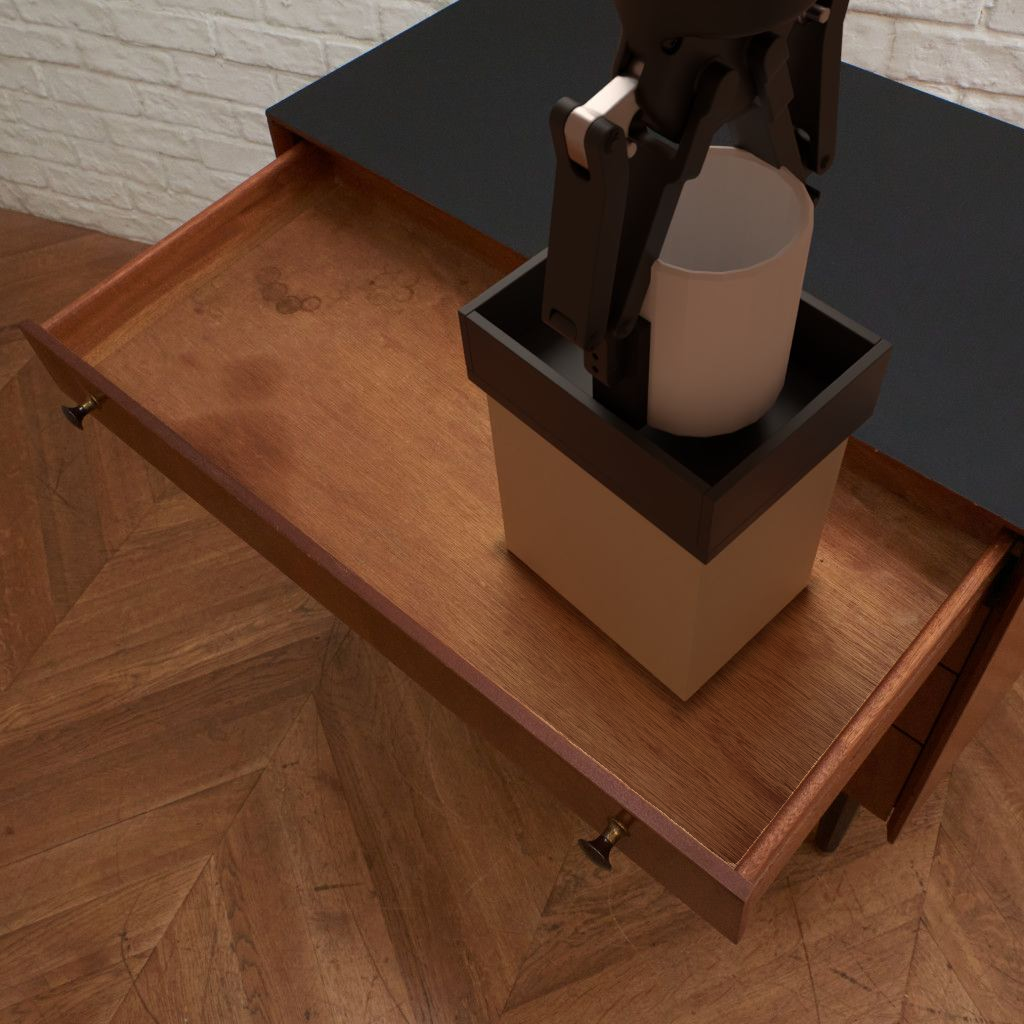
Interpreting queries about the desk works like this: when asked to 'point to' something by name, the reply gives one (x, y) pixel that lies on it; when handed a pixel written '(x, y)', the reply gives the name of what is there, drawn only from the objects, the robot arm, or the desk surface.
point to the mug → (726, 295)
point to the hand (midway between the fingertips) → (684, 360)
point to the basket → (661, 455)
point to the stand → (654, 558)
